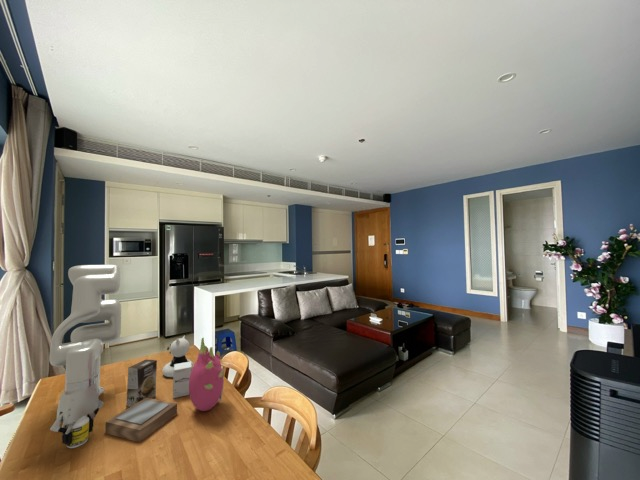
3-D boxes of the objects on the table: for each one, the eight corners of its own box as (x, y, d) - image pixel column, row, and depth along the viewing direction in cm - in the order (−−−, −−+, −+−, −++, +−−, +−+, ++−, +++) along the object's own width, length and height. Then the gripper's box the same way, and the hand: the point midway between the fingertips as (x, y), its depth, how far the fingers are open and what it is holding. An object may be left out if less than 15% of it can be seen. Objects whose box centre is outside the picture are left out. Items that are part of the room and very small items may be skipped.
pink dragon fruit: (227, 415, 103) (229, 339, 104) (189, 426, 96) (191, 345, 97) (219, 393, 118) (221, 327, 119) (186, 402, 111) (188, 332, 112)
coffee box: (138, 408, 107) (139, 368, 108) (125, 406, 109) (127, 367, 109) (156, 396, 116) (157, 359, 117) (144, 394, 117) (145, 358, 118)
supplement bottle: (69, 451, 84) (71, 420, 84) (64, 444, 87) (65, 415, 87) (91, 441, 89) (92, 412, 89) (85, 435, 92) (86, 406, 92)
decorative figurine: (170, 366, 146) (171, 331, 146) (197, 365, 147) (197, 330, 148) (156, 379, 131) (157, 340, 132) (186, 378, 132) (187, 339, 133)
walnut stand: (105, 433, 92) (105, 420, 93) (146, 407, 108) (146, 396, 108) (139, 442, 88) (139, 429, 88) (177, 413, 104) (177, 402, 104)
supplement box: (172, 399, 114) (173, 370, 114) (173, 391, 120) (173, 363, 121) (191, 394, 117) (191, 366, 118) (190, 387, 124) (191, 360, 124)
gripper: (99, 370, 98) (97, 419, 97) (40, 395, 81) (37, 454, 81) (114, 373, 96) (112, 423, 95) (56, 398, 79) (53, 459, 79)
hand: (78, 436), depth 88 cm, fingers closed on supplement bottle, 5 cm apart
